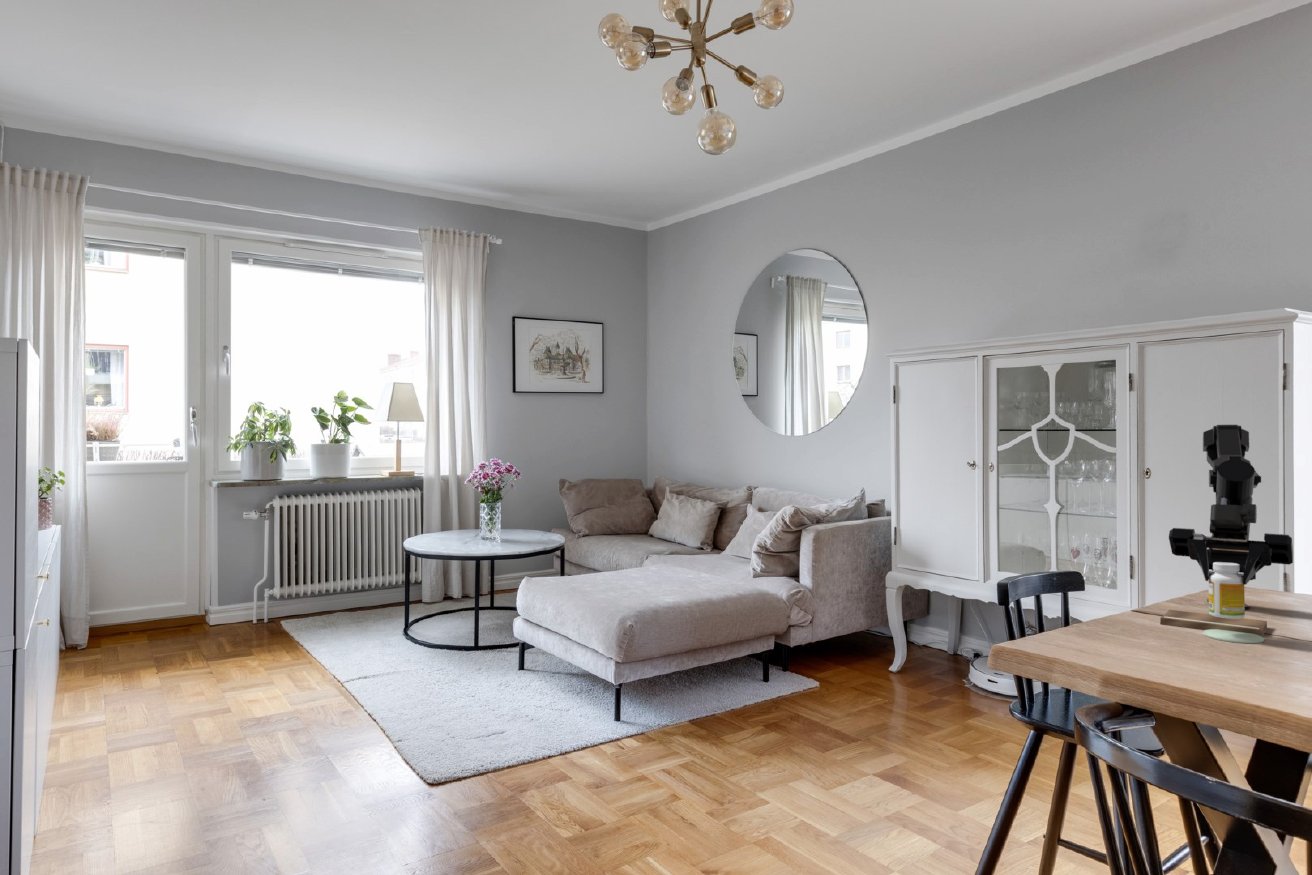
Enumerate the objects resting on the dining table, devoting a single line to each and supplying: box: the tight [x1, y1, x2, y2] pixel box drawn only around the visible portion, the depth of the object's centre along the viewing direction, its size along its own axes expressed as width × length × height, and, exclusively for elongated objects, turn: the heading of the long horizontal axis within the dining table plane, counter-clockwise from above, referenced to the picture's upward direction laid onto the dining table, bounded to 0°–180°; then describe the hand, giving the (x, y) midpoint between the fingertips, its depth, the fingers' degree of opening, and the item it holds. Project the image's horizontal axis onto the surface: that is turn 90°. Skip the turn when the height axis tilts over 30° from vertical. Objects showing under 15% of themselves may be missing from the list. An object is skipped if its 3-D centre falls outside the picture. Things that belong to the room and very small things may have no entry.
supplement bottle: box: [1208, 562, 1246, 619], centre depth 147 cm, size 5×5×10 cm
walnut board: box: [1159, 609, 1268, 637], centre depth 156 cm, size 16×10×1 cm, turn 48°
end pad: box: [1203, 629, 1265, 644], centre depth 147 cm, size 9×9×1 cm
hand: (1225, 581), depth 146 cm, fingers closed on supplement bottle, 5 cm apart
